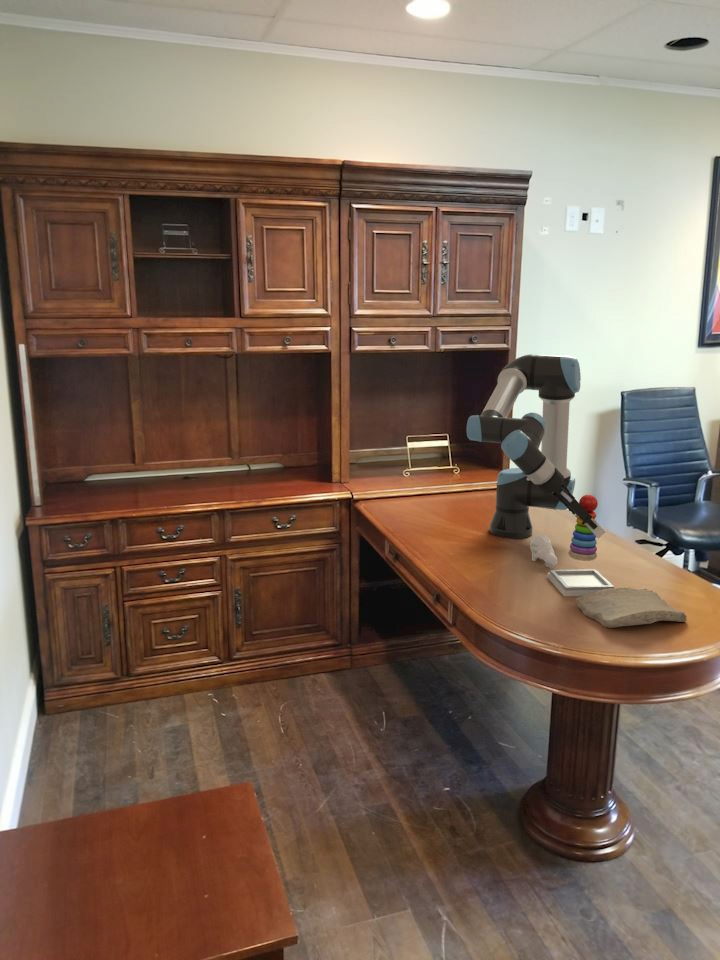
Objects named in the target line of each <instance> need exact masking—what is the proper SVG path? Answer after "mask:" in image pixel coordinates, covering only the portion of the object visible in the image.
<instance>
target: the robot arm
mask: <svg viewBox="0 0 720 960" xmlns="http://www.w3.org/2000/svg"><path fill="white" fill-rule="evenodd" d="M580 368H581V367H580V362H579V360H578V358H576V357H575V356H572V355H564V354H533V353H532V354H525V355H521V356H520V357H517V358H515V359H513V360H512V361H511V362H509V363H508V364H506V365H505V366H504V367H503V368H502V369H501V371H500V373H499V375H498V376H497V384H496V386H495V387H494V389H493V392H492V394H491V396H489V399H488V400H487V403H486V405H485V407H484V408H483V410H482V412H481V414H480V415H478V414H475V415H470V416H469V417H468V419H467V423H466V436H467V439H469V441H474V442H475V441H476V442H479V443H496V444H501V445H500V448H501V450H502V451H503V452H504V454H505V455H506V457H507V458H508V459H509V460H510V461H511V462H512V463H513V464H514V465H515V466H517V467H514V468H512V467H511V468H507V469H502V470H501V471H499V472H498V474H497V479H496V480H497V481H496V495H495V512H494V513H493V517H492V519H491V522H490V524H489V532H490V533H491V534H492V535H495V536H497V537H501V538H505V539H506V538H509V539H523V538H529V537H530V536H532V535H533V525H532V520H531V517H530V514H529V513H530V512H529V509H530V507H531V508H541V509H547V510H554V511H566V510H568V511H569V512H571V514H572V515H573V516H574V517H575V518H576V519H577V518H578V517H579V518H580V519H581V520H582V521H583V522H582V523H581V524H582V525H584V524H585V525H586V526H587V527H588V528H589V529H590V530H591V531H592V532H593V533H594V535H595V536H596V539H600V538H601V537H602V536H603V535H605V533H606V531H605V530H604V528H602V526H601V525H600V524H599V523H598V522H597V520H596V519H595V520H596V521H595V520H594V519H593V517H592V516H591V515H590V514H589V513H588V512H587V511H586V510H585V509H584V508H583V507H582V506H581V505H580V504H579V501H577V500H576V497H575V496H574V495H573V494H574V491H575V485H576V478H575V477H573V476H571V475H572V472H571V470H570V469H569V468H568V467H567V464H568V463H567V462H568V445H569V424H570V423H569V422H570V421H569V420H570V402H571V401H572V400H573V399H574V398H575V396H576V393H579V392H580V389H581V380H582V379H581V376H582V375H581V369H580ZM526 390H530V391H531V390H532V391H538V398H539V399H540V400H541V401H542V415H541V414H539V413H537V412H528V413H526V414H524V415H523V416H522V417H521V418H517V417H516V418H515V417H509V414H510V412H511V411H512V409H513V407H514V405H515V403H516V401H517V398H518V397H519V395H520V394H522V393H523V392H524V391H526ZM540 445H541V450H540Z"/></svg>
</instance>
